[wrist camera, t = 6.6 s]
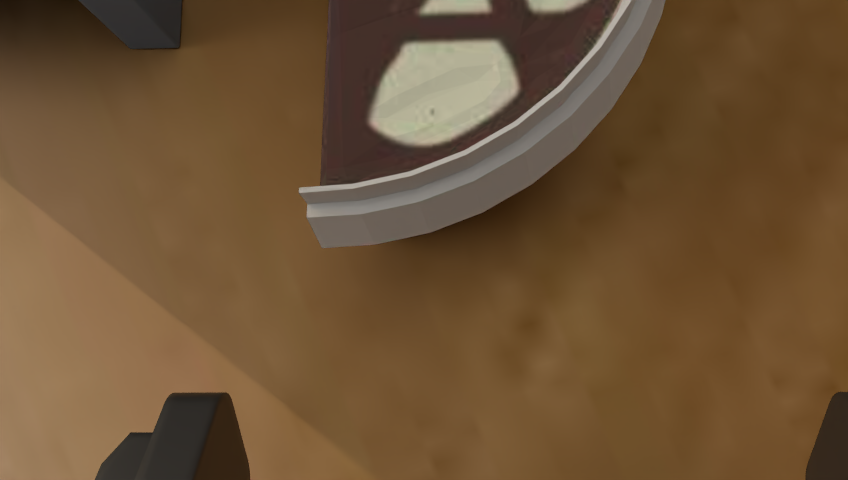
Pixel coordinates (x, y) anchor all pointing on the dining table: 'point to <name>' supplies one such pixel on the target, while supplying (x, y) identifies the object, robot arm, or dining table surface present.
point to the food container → (460, 104)
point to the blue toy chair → (140, 21)
